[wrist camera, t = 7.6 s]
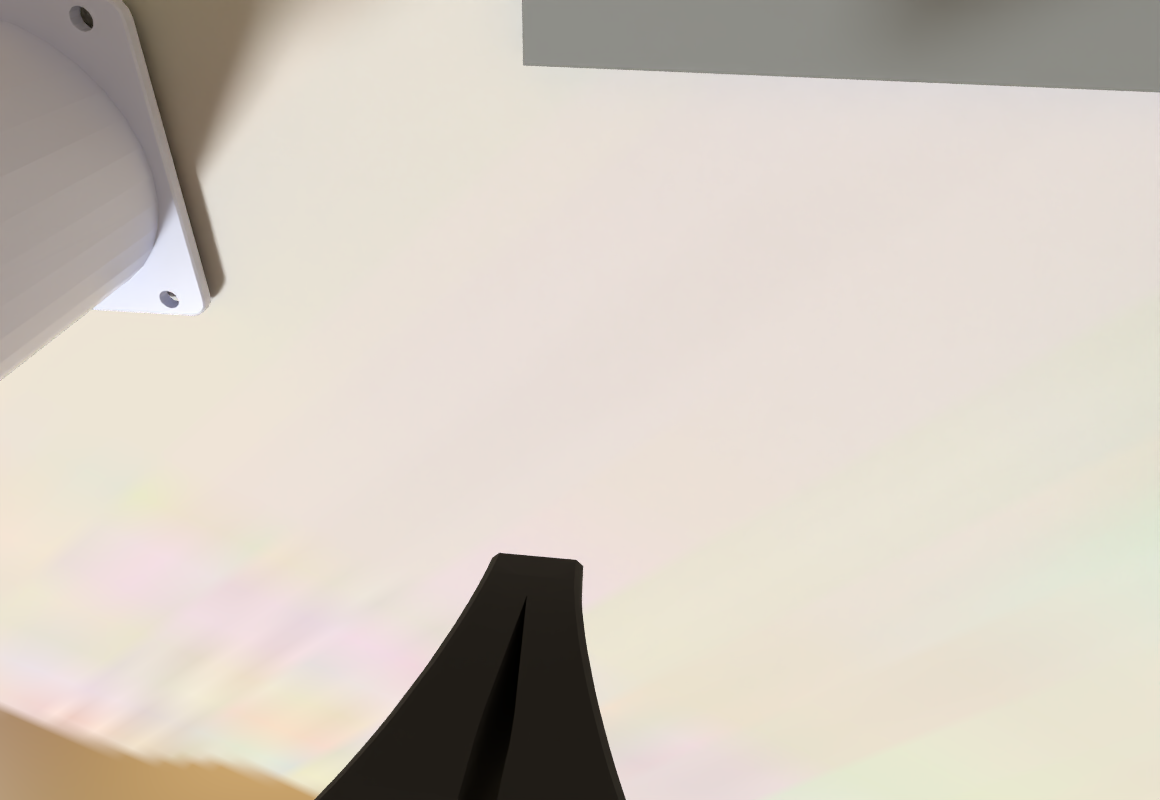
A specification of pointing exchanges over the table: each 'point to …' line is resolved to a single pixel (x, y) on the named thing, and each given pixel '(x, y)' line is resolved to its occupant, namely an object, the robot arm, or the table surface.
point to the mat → (859, 39)
